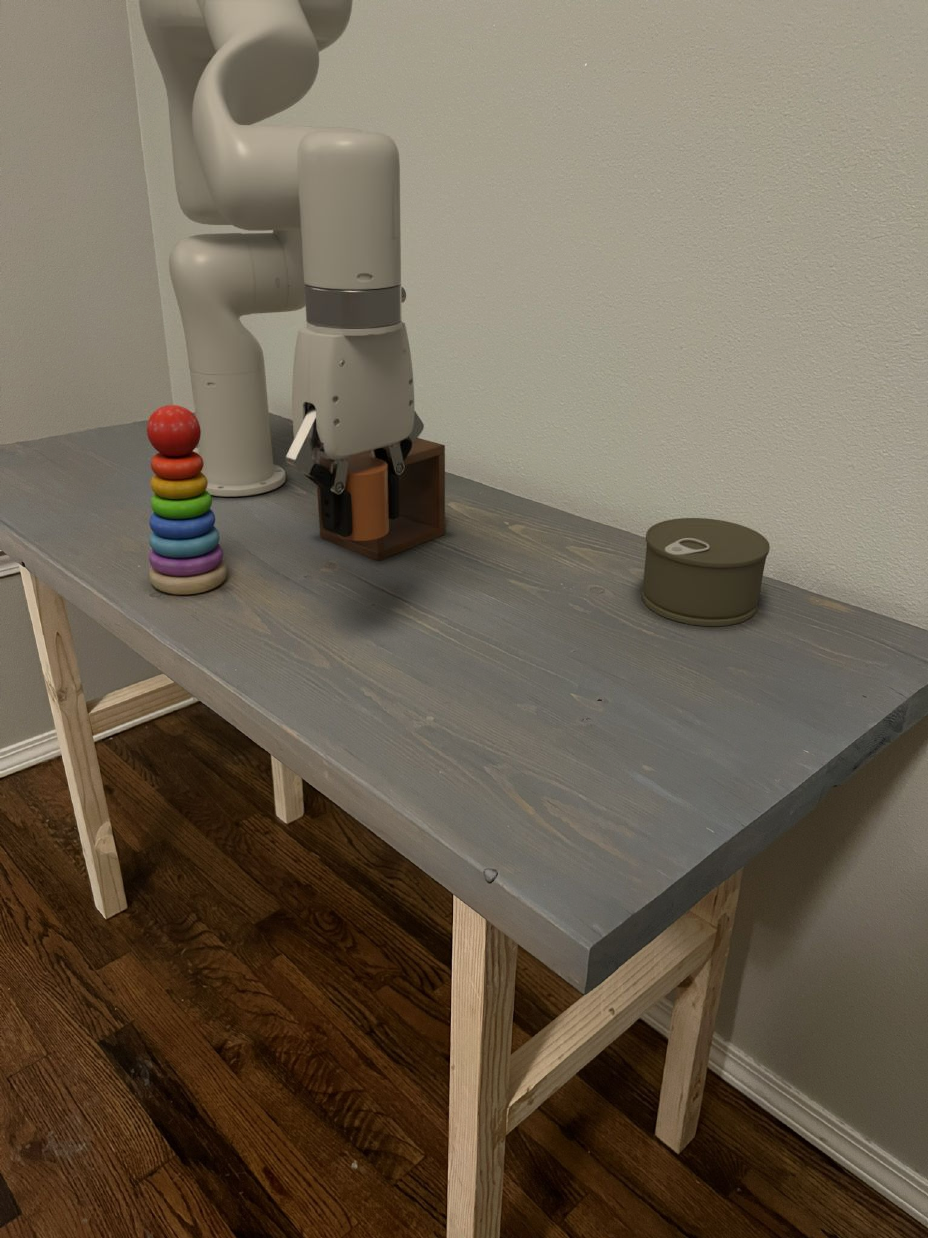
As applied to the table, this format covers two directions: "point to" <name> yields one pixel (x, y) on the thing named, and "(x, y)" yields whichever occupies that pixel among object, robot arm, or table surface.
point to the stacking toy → (181, 508)
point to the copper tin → (368, 497)
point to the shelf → (407, 505)
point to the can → (703, 571)
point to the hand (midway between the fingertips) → (361, 521)
